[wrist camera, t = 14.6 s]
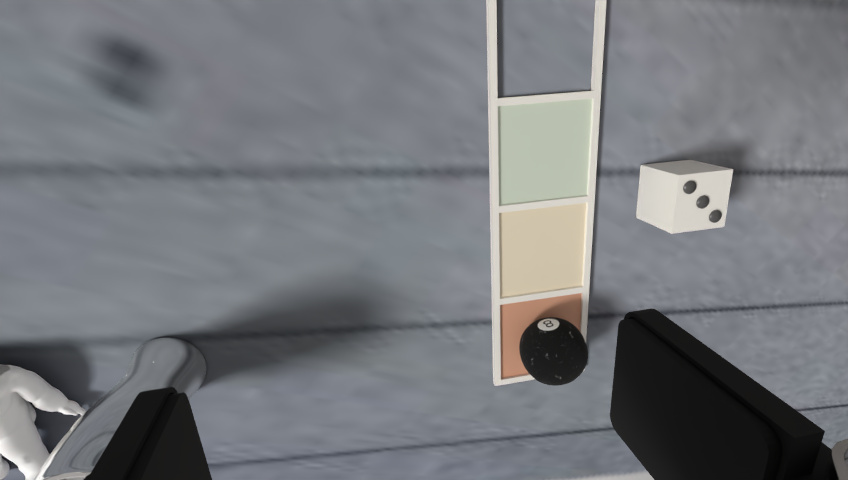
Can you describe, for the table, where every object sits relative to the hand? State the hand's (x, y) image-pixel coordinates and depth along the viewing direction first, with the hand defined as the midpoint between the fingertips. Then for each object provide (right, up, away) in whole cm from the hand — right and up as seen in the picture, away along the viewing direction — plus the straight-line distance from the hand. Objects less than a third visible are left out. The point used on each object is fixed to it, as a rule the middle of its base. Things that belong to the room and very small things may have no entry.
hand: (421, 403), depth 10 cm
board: (+11, +7, +32) cm, 34 cm away
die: (+22, +8, +33) cm, 41 cm away
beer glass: (-22, -7, +31) cm, 38 cm away
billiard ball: (+11, -6, +36) cm, 38 cm away
